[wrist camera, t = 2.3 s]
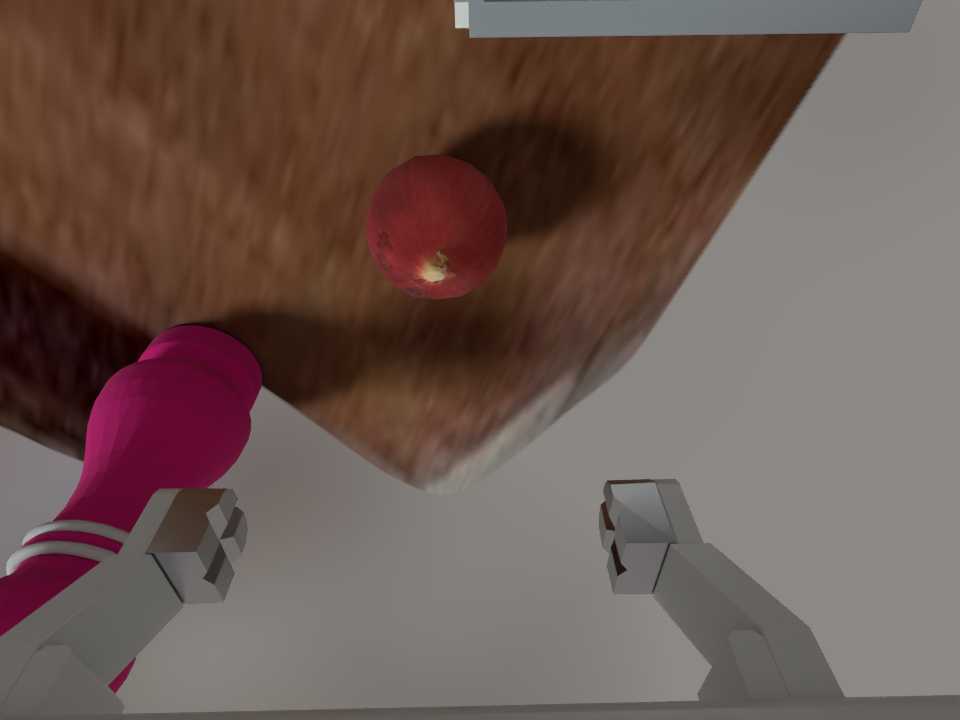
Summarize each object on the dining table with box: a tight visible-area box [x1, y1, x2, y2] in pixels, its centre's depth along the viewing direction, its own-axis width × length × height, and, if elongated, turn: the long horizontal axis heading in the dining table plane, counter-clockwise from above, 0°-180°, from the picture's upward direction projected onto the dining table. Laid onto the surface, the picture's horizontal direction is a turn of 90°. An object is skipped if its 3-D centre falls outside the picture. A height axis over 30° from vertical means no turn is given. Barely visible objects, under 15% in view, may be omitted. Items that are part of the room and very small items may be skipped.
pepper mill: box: [0, 325, 262, 693], centre depth 24 cm, size 7×7×20 cm
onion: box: [366, 154, 507, 299], centre depth 23 cm, size 6×6×8 cm
